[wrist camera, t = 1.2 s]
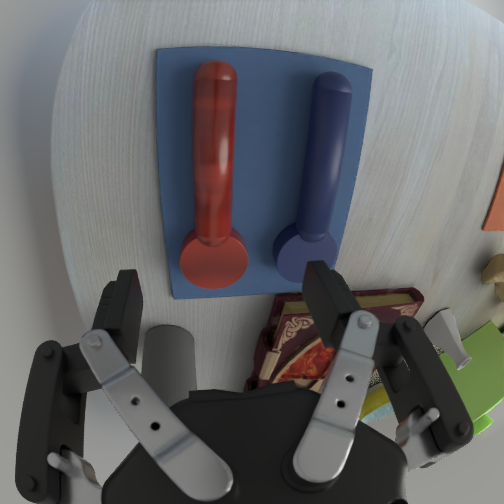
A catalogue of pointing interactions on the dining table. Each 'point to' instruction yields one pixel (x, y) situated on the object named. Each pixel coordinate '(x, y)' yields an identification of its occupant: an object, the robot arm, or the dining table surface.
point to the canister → (480, 374)
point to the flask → (447, 337)
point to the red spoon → (213, 182)
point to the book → (314, 337)
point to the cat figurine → (495, 274)
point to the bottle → (169, 363)
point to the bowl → (375, 404)
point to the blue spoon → (317, 180)
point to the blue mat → (251, 153)
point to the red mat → (496, 208)
